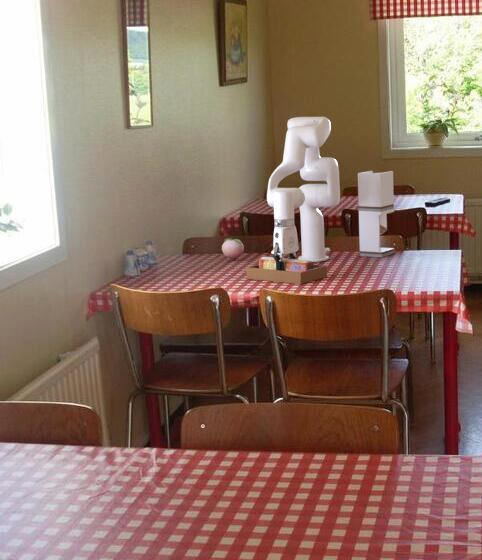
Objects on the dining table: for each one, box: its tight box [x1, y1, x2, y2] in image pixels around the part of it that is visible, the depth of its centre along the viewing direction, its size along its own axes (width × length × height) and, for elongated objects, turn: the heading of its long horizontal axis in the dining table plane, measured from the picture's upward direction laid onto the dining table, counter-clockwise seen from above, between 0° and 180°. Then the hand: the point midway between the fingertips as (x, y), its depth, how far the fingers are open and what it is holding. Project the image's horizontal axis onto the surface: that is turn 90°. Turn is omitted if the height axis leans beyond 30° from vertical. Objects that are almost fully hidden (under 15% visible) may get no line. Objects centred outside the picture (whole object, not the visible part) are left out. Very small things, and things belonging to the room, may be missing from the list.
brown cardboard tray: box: [245, 263, 328, 285], centre depth 375 cm, size 17×26×4 cm, turn 56°
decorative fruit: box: [221, 236, 245, 261], centre depth 418 cm, size 9×8×10 cm
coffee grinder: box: [357, 170, 396, 258], centre depth 420 cm, size 11×11×35 cm
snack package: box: [258, 256, 314, 272], centre depth 375 cm, size 21×7×7 cm, turn 63°
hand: (286, 269), depth 375 cm, fingers closed on snack package, 7 cm apart
